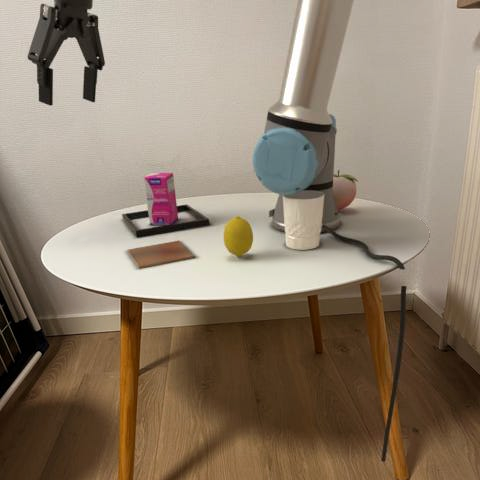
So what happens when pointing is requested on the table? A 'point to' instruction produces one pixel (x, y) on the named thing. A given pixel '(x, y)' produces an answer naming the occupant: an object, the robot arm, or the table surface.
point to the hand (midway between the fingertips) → (68, 102)
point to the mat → (160, 254)
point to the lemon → (238, 236)
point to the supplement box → (161, 198)
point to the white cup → (303, 219)
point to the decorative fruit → (344, 190)
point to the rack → (166, 228)
